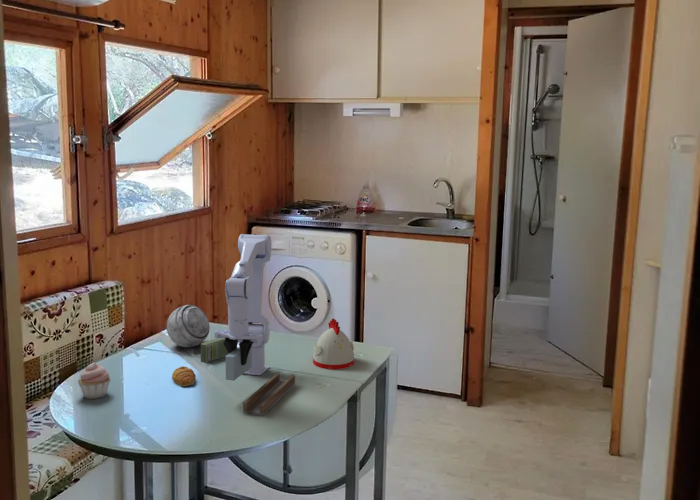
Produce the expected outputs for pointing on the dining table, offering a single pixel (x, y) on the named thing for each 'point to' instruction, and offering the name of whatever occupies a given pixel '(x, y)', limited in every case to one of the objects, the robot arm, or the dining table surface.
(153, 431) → the dining table surface
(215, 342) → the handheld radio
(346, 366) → the kitchen timer
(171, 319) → the decorative orb
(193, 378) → the pastry
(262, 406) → the floor track
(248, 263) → the robot arm
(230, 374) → the door panel
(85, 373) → the cupcake
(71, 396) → the dining table surface
